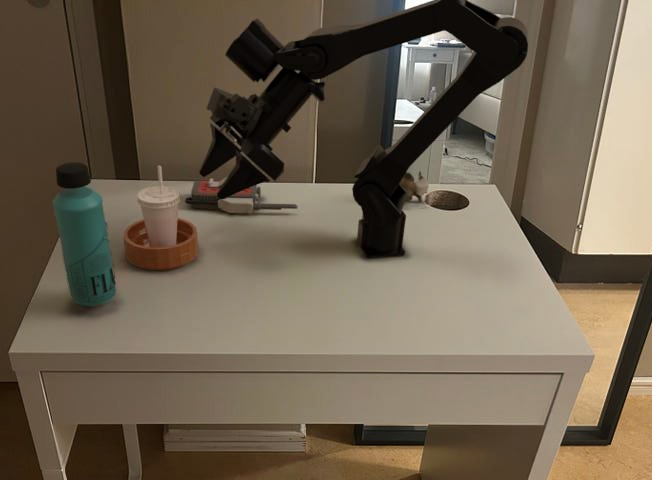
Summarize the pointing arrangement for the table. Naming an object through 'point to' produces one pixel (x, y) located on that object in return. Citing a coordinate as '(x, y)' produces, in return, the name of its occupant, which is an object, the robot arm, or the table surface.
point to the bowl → (160, 256)
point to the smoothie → (160, 213)
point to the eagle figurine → (414, 186)
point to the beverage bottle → (83, 237)
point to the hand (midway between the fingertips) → (209, 185)
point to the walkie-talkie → (229, 198)
